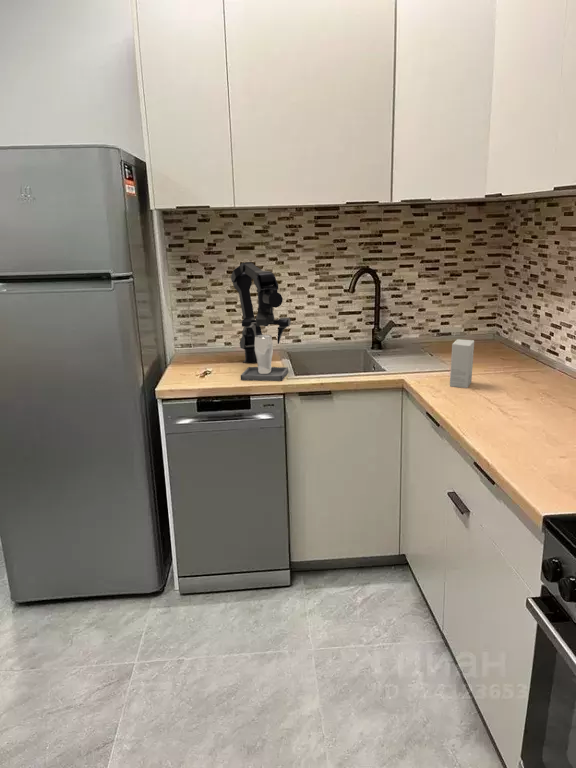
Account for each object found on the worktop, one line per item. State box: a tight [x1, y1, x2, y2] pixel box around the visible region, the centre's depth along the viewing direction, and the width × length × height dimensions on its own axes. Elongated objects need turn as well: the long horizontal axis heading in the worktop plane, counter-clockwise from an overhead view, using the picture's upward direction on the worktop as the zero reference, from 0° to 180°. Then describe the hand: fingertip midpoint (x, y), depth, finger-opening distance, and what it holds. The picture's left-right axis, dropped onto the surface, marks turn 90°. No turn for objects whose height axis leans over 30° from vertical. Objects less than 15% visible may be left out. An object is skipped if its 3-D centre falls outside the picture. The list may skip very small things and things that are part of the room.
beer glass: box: [255, 334, 274, 375], centre depth 227 cm, size 7×7×15 cm
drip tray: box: [240, 366, 289, 382], centre depth 229 cm, size 13×16×2 cm
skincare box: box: [449, 338, 475, 389], centre depth 207 cm, size 8×7×16 cm
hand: (267, 343), depth 235 cm, fingers open, 9 cm apart
